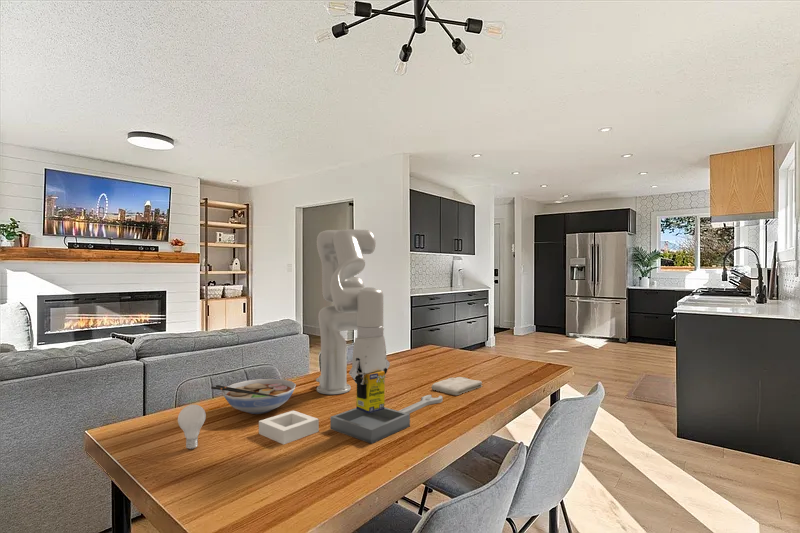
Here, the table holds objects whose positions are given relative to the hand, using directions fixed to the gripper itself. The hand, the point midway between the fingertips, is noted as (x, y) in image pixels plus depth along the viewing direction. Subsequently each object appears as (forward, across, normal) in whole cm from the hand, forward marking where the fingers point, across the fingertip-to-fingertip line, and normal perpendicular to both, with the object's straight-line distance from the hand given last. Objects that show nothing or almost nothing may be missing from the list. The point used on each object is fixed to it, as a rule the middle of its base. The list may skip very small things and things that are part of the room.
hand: (370, 394), depth 122 cm
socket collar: (+9, +17, -15) cm, 25 cm away
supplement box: (+4, 0, 0) cm, 4 cm away
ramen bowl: (+10, +12, -38) cm, 41 cm away
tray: (+9, 0, 0) cm, 9 cm away
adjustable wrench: (+10, -23, -1) cm, 25 cm away
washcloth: (+10, -51, -2) cm, 52 cm away
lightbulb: (+10, +39, -25) cm, 47 cm away
